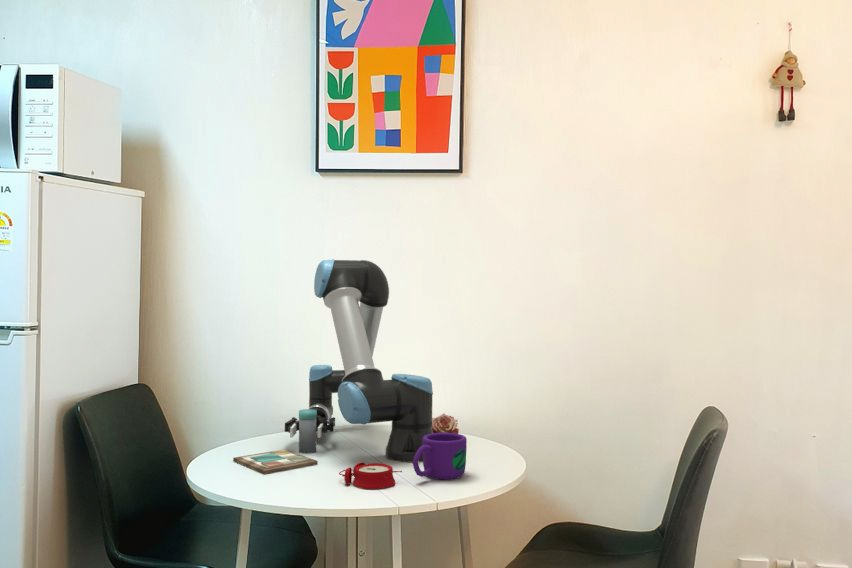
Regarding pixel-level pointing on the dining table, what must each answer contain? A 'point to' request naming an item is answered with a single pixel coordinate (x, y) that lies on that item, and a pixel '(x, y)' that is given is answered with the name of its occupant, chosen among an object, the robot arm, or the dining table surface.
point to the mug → (442, 456)
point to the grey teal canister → (307, 430)
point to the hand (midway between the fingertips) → (305, 432)
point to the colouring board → (275, 461)
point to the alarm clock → (370, 476)
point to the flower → (444, 424)
